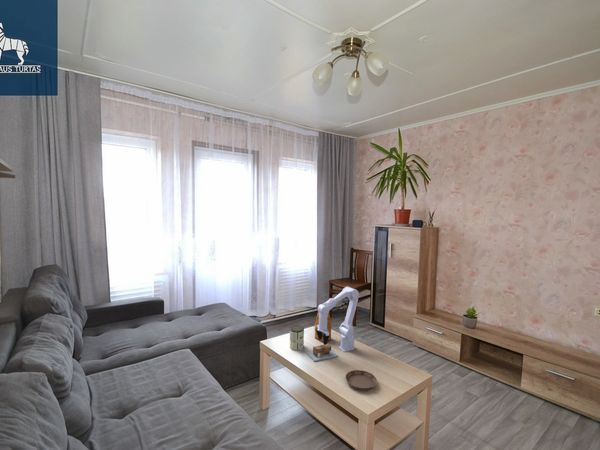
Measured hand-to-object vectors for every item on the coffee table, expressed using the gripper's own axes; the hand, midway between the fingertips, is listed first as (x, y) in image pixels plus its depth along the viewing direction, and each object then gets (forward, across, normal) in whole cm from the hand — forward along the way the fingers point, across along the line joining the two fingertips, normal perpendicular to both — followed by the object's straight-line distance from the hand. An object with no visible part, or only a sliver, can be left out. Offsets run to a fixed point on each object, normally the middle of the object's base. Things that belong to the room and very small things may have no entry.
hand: (322, 341), depth 192 cm
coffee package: (+10, -22, +12) cm, 27 cm away
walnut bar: (+8, 0, 0) cm, 8 cm away
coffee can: (+10, -17, -12) cm, 23 cm away
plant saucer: (+10, +36, +6) cm, 38 cm away
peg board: (+9, 0, 0) cm, 9 cm away
